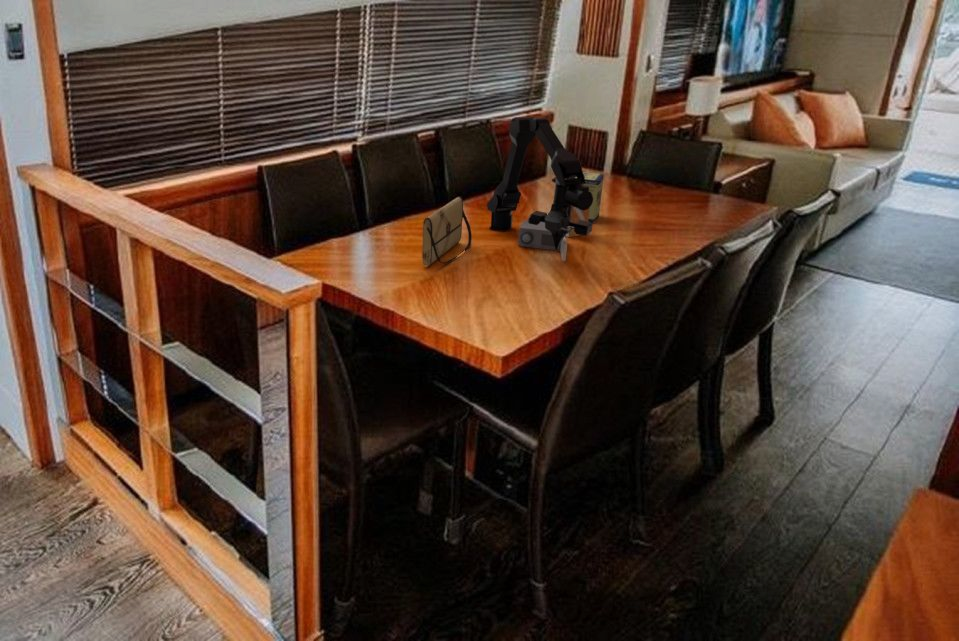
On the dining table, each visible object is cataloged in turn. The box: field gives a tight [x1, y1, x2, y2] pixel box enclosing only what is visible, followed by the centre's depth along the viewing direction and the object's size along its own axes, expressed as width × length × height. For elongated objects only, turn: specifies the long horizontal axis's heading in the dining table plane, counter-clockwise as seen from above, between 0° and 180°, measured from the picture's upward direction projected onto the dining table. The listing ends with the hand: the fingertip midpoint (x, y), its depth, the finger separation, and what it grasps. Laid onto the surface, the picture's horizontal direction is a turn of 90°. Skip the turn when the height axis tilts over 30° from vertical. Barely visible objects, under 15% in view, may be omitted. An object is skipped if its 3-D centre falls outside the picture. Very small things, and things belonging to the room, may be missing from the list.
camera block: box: [517, 219, 567, 252], centre depth 252 cm, size 14×10×7 cm
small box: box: [566, 206, 590, 238], centre depth 264 cm, size 8×6×13 cm
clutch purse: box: [421, 196, 473, 267], centre depth 237 cm, size 30×7×15 cm, turn 161°
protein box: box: [554, 171, 605, 224], centre depth 282 cm, size 10×16×16 cm
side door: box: [559, 236, 568, 262], centre depth 243 cm, size 10×1×6 cm, turn 179°
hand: (556, 249), depth 241 cm, fingers closed
